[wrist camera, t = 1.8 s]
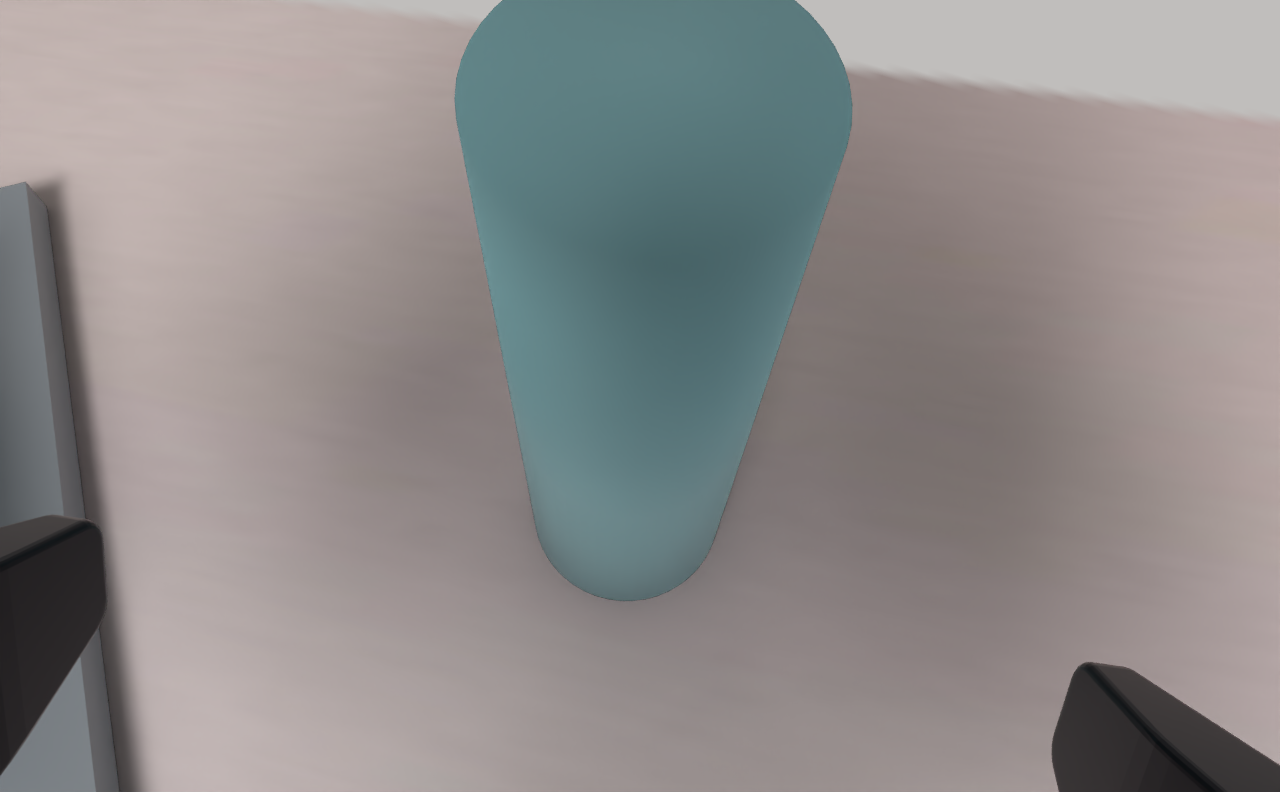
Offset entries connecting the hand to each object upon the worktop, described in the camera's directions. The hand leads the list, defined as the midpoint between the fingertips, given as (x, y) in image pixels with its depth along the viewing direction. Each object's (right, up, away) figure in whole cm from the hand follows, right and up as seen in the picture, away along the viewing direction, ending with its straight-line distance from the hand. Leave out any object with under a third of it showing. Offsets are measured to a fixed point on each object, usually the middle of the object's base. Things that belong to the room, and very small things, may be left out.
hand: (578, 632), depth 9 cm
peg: (0, 0, +13) cm, 13 cm away
